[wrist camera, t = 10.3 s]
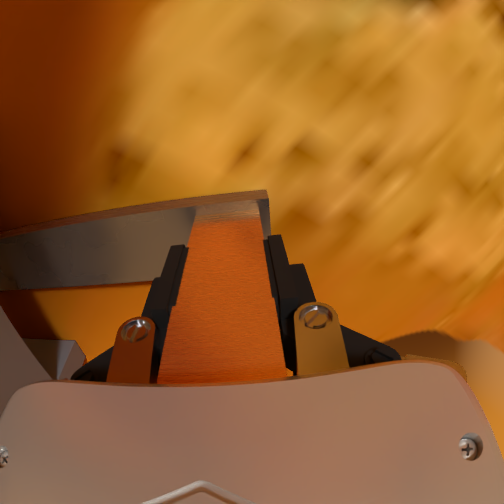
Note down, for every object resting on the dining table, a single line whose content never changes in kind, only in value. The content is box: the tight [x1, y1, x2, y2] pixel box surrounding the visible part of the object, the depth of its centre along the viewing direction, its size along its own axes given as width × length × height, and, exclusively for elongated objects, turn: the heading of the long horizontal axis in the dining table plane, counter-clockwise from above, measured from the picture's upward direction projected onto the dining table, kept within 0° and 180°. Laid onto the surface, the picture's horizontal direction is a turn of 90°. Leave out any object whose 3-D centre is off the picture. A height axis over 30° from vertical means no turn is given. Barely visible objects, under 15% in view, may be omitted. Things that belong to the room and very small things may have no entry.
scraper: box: [0, 190, 287, 384], centre depth 11 cm, size 24×4×11 cm, turn 95°
